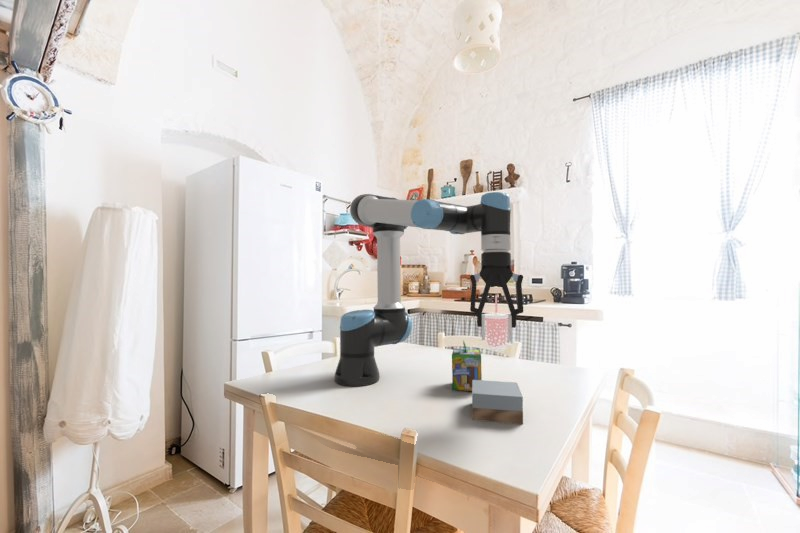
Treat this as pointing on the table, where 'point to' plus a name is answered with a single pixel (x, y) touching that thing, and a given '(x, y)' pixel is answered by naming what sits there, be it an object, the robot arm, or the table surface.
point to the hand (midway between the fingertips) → (496, 339)
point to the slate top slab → (496, 395)
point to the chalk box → (465, 368)
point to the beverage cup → (496, 329)
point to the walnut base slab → (497, 415)
